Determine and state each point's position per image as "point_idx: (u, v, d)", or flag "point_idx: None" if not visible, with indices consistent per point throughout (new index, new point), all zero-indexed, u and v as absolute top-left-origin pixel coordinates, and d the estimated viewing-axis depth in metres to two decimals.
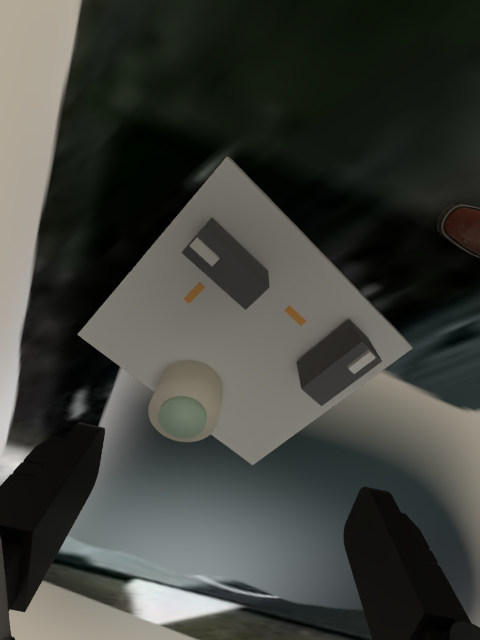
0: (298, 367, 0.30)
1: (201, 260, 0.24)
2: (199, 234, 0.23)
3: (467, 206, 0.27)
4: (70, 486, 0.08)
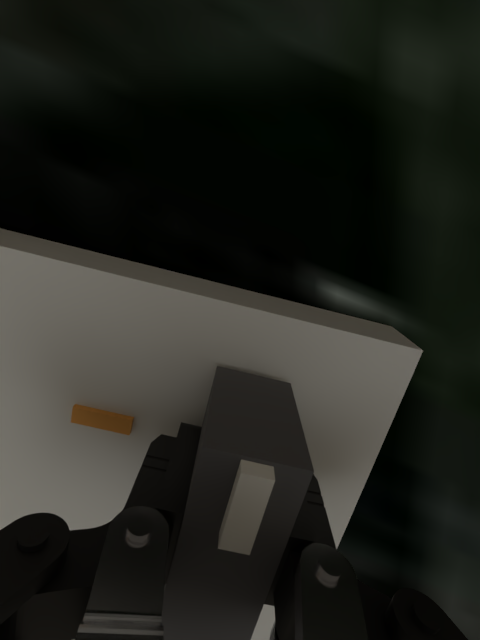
0: None
1: (213, 503, 0.08)
2: (284, 469, 0.07)
3: None
4: None
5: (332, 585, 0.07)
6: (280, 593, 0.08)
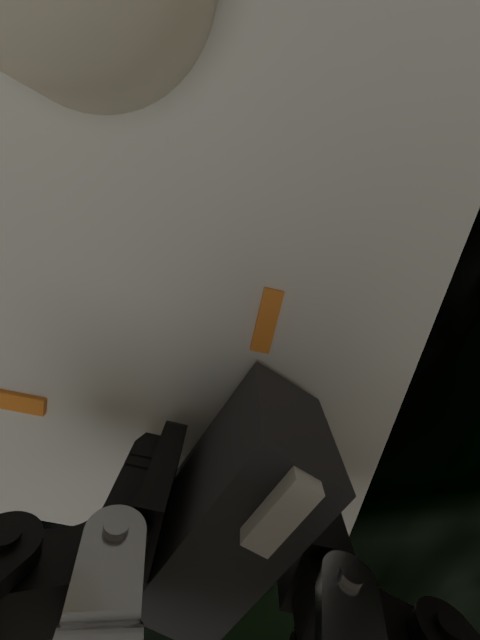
0: None
1: (248, 499, 0.07)
2: (330, 486, 0.07)
3: None
4: (174, 476, 0.09)
5: (355, 593, 0.07)
6: (299, 601, 0.08)
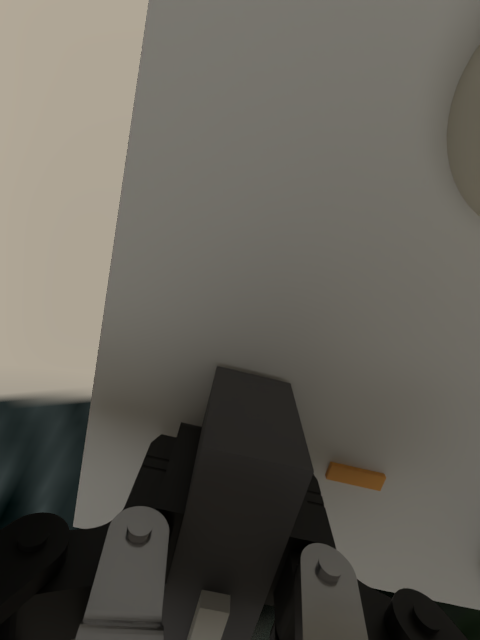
0: None
1: None
2: None
3: None
4: None
5: (332, 585, 0.07)
6: (280, 593, 0.08)
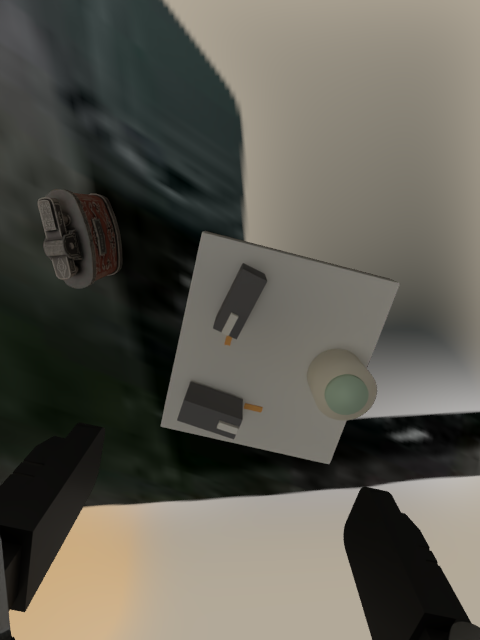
0: (264, 276, 0.33)
1: (227, 420, 0.34)
2: (235, 434, 0.35)
3: None
4: (70, 486, 0.08)
5: None
6: None
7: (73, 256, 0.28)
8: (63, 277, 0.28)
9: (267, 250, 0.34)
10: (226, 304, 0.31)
